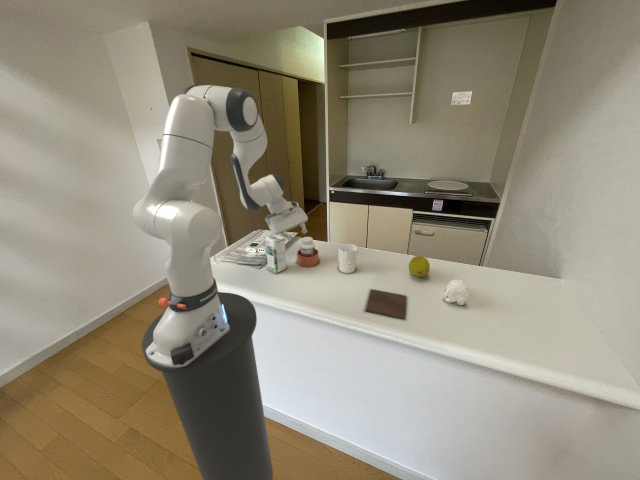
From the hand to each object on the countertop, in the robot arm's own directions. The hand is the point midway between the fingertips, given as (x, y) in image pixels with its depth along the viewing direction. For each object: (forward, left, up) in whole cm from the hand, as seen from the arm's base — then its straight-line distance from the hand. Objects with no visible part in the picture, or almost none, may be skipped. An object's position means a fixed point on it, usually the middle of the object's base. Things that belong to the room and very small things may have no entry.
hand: (298, 236), depth 112 cm
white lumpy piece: (-10, -63, -11) cm, 65 cm away
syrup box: (-12, +5, -11) cm, 17 cm away
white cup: (-3, -23, -11) cm, 26 cm away
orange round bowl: (-2, -5, -11) cm, 12 cm away
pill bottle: (-2, -5, -11) cm, 12 cm away
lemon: (+1, -51, -11) cm, 52 cm away
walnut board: (-21, -41, -11) cm, 47 cm away
